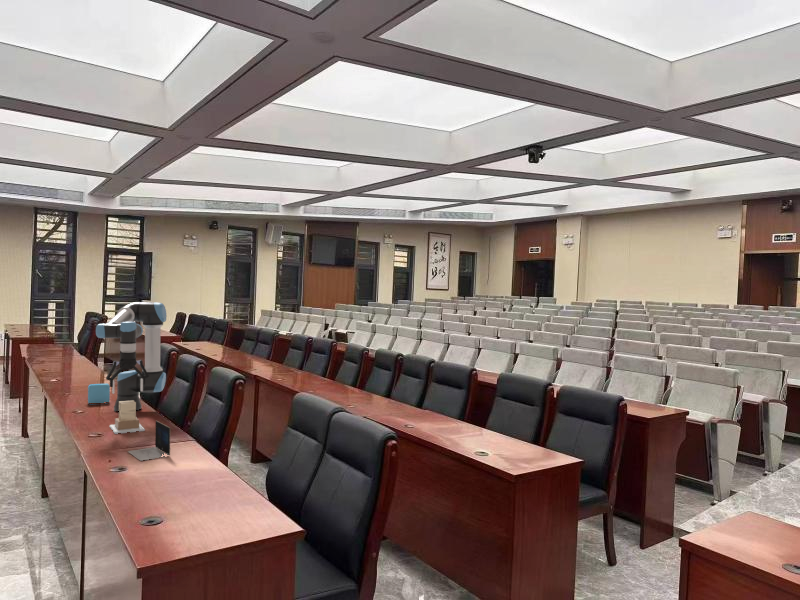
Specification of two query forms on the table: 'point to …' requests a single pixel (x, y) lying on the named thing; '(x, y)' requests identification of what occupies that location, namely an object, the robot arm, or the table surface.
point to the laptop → (160, 444)
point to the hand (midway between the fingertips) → (127, 392)
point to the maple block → (127, 410)
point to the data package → (98, 393)
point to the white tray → (126, 426)
